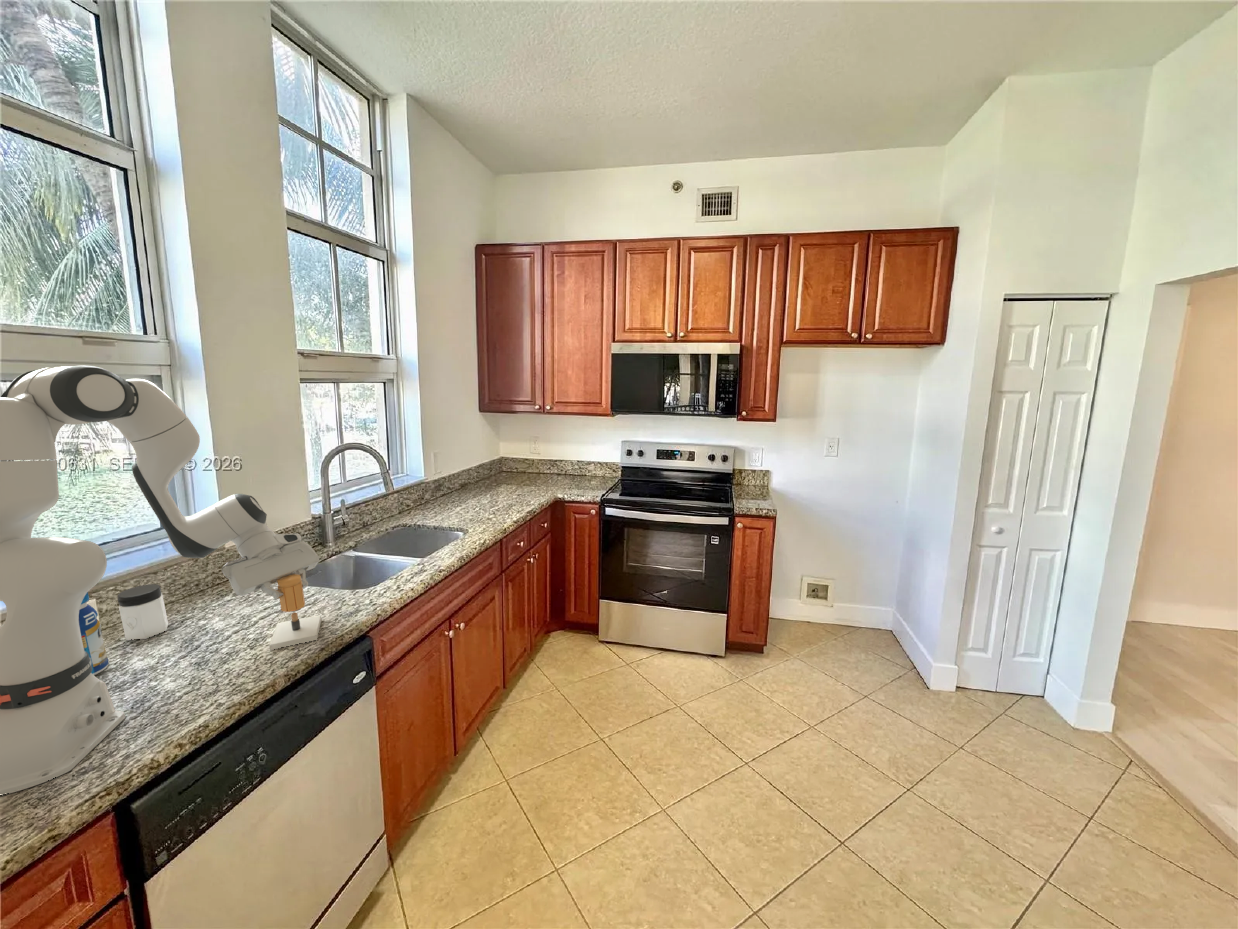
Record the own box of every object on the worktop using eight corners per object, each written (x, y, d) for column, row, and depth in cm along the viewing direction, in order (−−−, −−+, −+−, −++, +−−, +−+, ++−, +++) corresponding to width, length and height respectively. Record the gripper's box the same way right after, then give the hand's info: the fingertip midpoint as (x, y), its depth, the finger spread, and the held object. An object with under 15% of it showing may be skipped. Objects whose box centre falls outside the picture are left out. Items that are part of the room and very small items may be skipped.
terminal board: (317, 640, 126) (314, 618, 124) (270, 650, 121) (266, 627, 120) (321, 619, 136) (318, 599, 135) (278, 628, 132) (275, 607, 131)
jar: (115, 642, 126) (105, 598, 124) (141, 626, 134) (132, 585, 132) (154, 639, 127) (145, 596, 125) (177, 623, 135) (169, 582, 133)
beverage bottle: (47, 680, 110) (26, 598, 107) (95, 659, 118) (77, 582, 114) (71, 687, 108) (50, 603, 104) (119, 665, 116) (101, 586, 112)
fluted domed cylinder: (303, 609, 126) (299, 580, 125) (280, 613, 124) (275, 584, 123) (305, 601, 131) (301, 573, 129) (283, 605, 129) (279, 576, 127)
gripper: (221, 558, 118) (253, 603, 116) (304, 531, 136) (333, 570, 134) (214, 572, 120) (245, 617, 118) (296, 545, 139) (324, 582, 137)
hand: (292, 592), depth 126 cm, fingers closed on fluted domed cylinder, 5 cm apart
